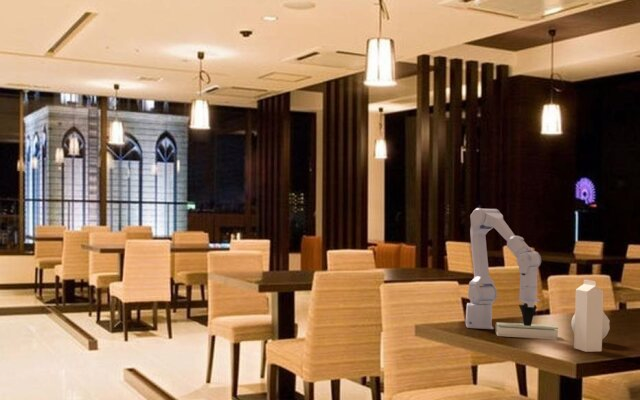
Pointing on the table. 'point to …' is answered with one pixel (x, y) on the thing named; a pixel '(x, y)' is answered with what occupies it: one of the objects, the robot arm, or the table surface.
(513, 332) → the cable duct
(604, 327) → the decorative ball
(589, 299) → the milk
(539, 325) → the duct lid
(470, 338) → the table surface
